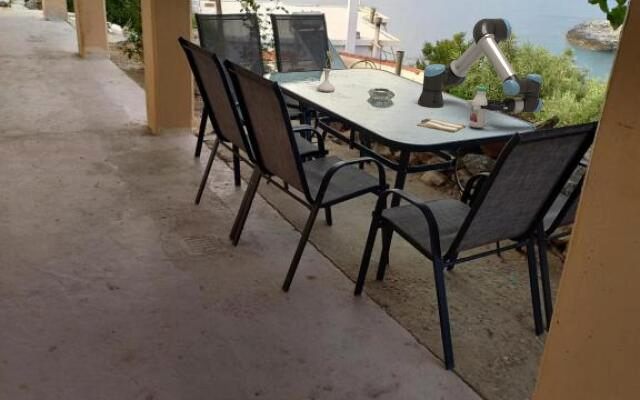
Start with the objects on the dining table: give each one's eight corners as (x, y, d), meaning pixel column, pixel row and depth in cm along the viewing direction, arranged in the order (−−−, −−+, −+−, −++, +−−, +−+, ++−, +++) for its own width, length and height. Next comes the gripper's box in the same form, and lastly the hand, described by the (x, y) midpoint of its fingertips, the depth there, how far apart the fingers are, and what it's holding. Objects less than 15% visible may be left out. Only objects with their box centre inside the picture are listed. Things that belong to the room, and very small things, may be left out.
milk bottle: (481, 124, 307) (487, 86, 300) (486, 128, 300) (492, 89, 293) (467, 123, 307) (472, 85, 300) (471, 127, 300) (476, 88, 292)
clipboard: (429, 120, 315) (430, 116, 314) (465, 126, 305) (466, 123, 304) (416, 125, 303) (417, 122, 302) (453, 132, 292) (454, 129, 292)
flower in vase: (335, 93, 370) (337, 52, 361) (316, 92, 370) (318, 51, 361) (334, 89, 382) (337, 50, 373) (317, 88, 382) (319, 49, 373)
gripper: (520, 117, 295) (478, 117, 291) (501, 107, 314) (461, 107, 309) (523, 102, 292) (480, 102, 288) (504, 93, 311) (463, 93, 306)
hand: (470, 104), depth 299 cm, fingers closed on milk bottle, 7 cm apart
